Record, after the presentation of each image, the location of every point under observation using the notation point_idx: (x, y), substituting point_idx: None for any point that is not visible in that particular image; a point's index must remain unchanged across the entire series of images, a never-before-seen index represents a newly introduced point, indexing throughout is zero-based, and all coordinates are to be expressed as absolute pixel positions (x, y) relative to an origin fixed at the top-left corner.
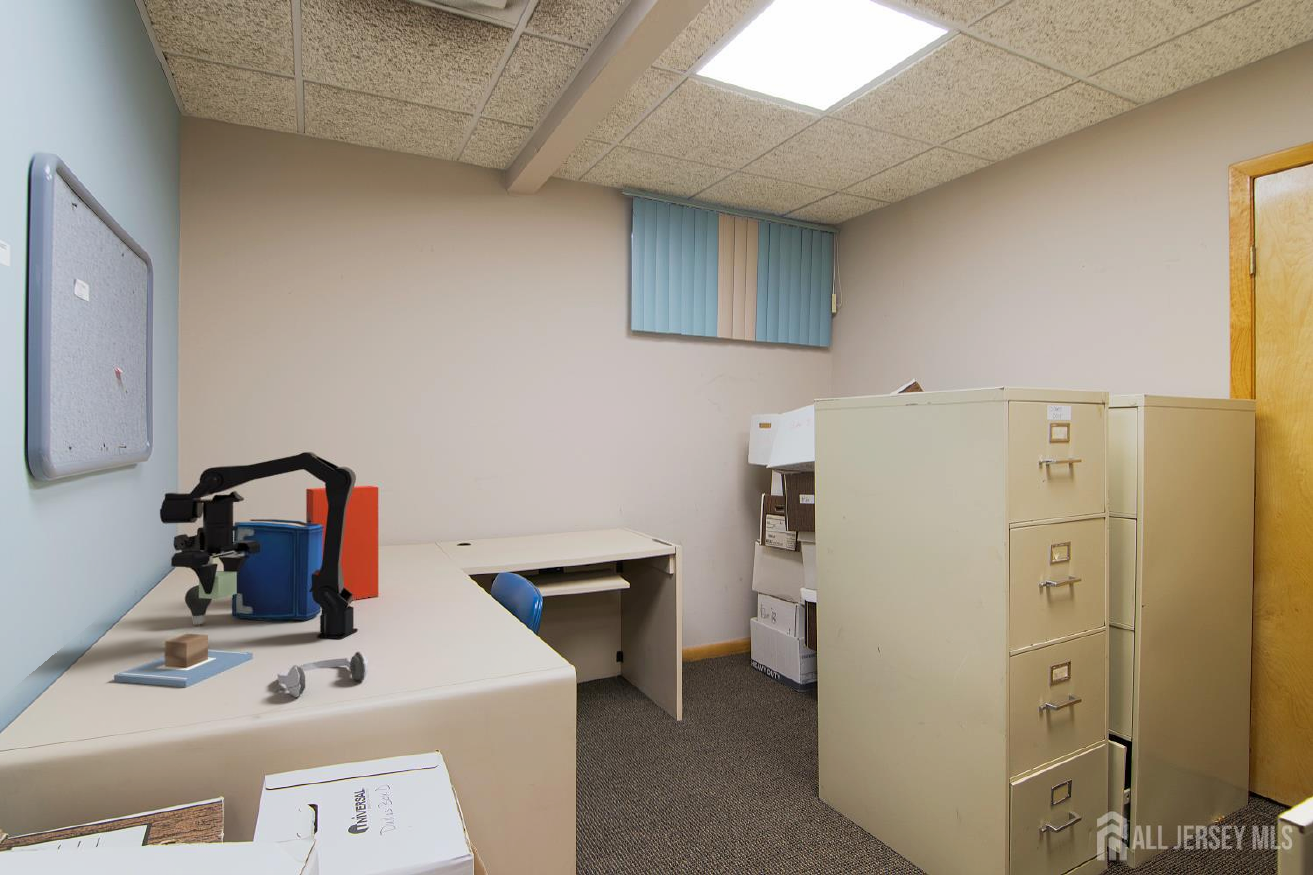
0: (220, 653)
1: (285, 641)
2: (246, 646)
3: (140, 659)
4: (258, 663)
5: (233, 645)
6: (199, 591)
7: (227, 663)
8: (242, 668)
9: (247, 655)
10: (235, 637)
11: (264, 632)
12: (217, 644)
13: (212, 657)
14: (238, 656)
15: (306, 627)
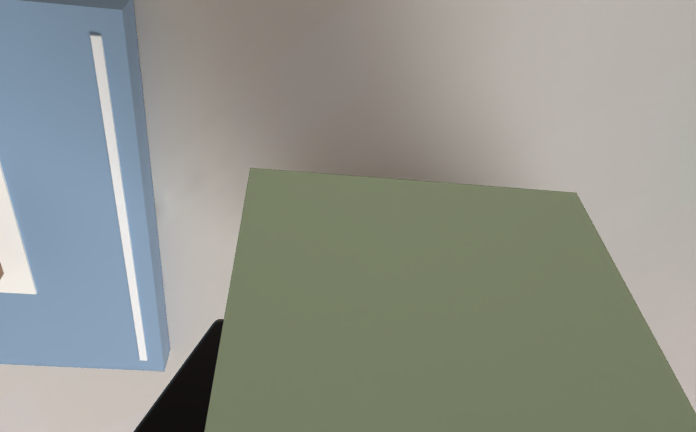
0: (107, 264)
1: None
2: None
3: None
4: (125, 393)
5: (337, 162)
6: (242, 235)
7: (10, 363)
8: (55, 378)
9: (132, 367)
10: (505, 67)
11: (600, 172)
12: (348, 54)
13: (43, 266)
14: (100, 353)
15: (661, 312)
